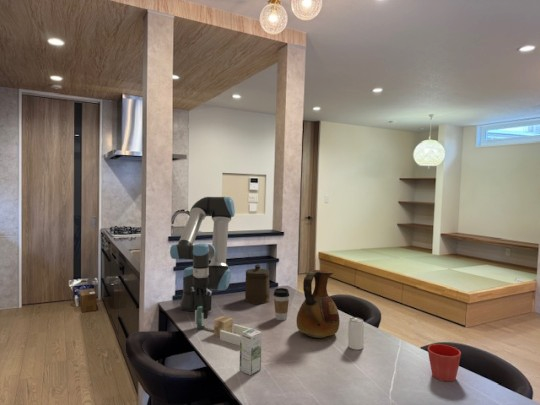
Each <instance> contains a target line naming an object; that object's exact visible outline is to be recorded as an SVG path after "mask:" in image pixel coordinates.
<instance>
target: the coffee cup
mask: <svg viewBox="0 0 540 405" xmlns="http://www.w3.org/2000/svg"><path fill="white" fill-rule="evenodd" d="M273 297H274V298H273V302H274V312H275V313H274V314H275V320H277V321H285V320H287V319H288V312H289V311H288V310H289V301H290V299H289V298H290V292H289V289H287V288H286V287H285V288H283V287H280V288H279V287H278V288H276V289H274V291H273Z"/></svg>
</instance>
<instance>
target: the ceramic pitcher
mask: <svg viewBox="0 0 540 405" xmlns="http://www.w3.org/2000/svg"><path fill="white" fill-rule="evenodd" d="M333 274H334V271H330V270H321V269H310V270H309V272H307V273H306V275H305V276H304V279H303V284H302V289H303V294H304V298H305V299H304V300H303V302H302V304H301V306H300V307H299V310H298V311H297V315H296V327H297V330H298V331H300V332H301V333H303V334H306V336H308V337H312V338H317V339H325V338H326V337H328V336H333V335H335V334H337V333H338V331H339V328H340V315H339V310H338V307H337V305H336V303H335V302H334V300H333V298H331V296H329V294H328V291H327V287H328V286H327V285H328V280H329V278H330V277H331V276H332V275H333ZM313 279H314V289H313V291H312V285H313V284H312V283H313Z"/></svg>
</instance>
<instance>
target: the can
mask: <svg viewBox="0 0 540 405" xmlns="http://www.w3.org/2000/svg"><path fill="white" fill-rule="evenodd" d="M347 333H348V336H347V338H348V339H347V340H348V341H347V345H348V348H350V350H354V351H362V350H363V349H364V347H365V346H364V344H365V323H364V319H363V318H361V317H357V316H352V317H349V320H348V332H347Z"/></svg>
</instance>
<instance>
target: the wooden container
mask: <svg viewBox="0 0 540 405" xmlns="http://www.w3.org/2000/svg"><path fill="white" fill-rule="evenodd" d="M261 267H262V266H261V265H260V264H256V265H255V266H254V268H248V269H246V270H245V282H244V284H245V286H244V288H245V290H244V292H245V294H244V296H245V298H244V301H245V302H246V303H249V304H253V305H254V304H255V305H256V304H257V305H261V304H266V303H269V302H270V294H271V293H270V291H271V290H270V270H269V269H267V268H261Z"/></svg>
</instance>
